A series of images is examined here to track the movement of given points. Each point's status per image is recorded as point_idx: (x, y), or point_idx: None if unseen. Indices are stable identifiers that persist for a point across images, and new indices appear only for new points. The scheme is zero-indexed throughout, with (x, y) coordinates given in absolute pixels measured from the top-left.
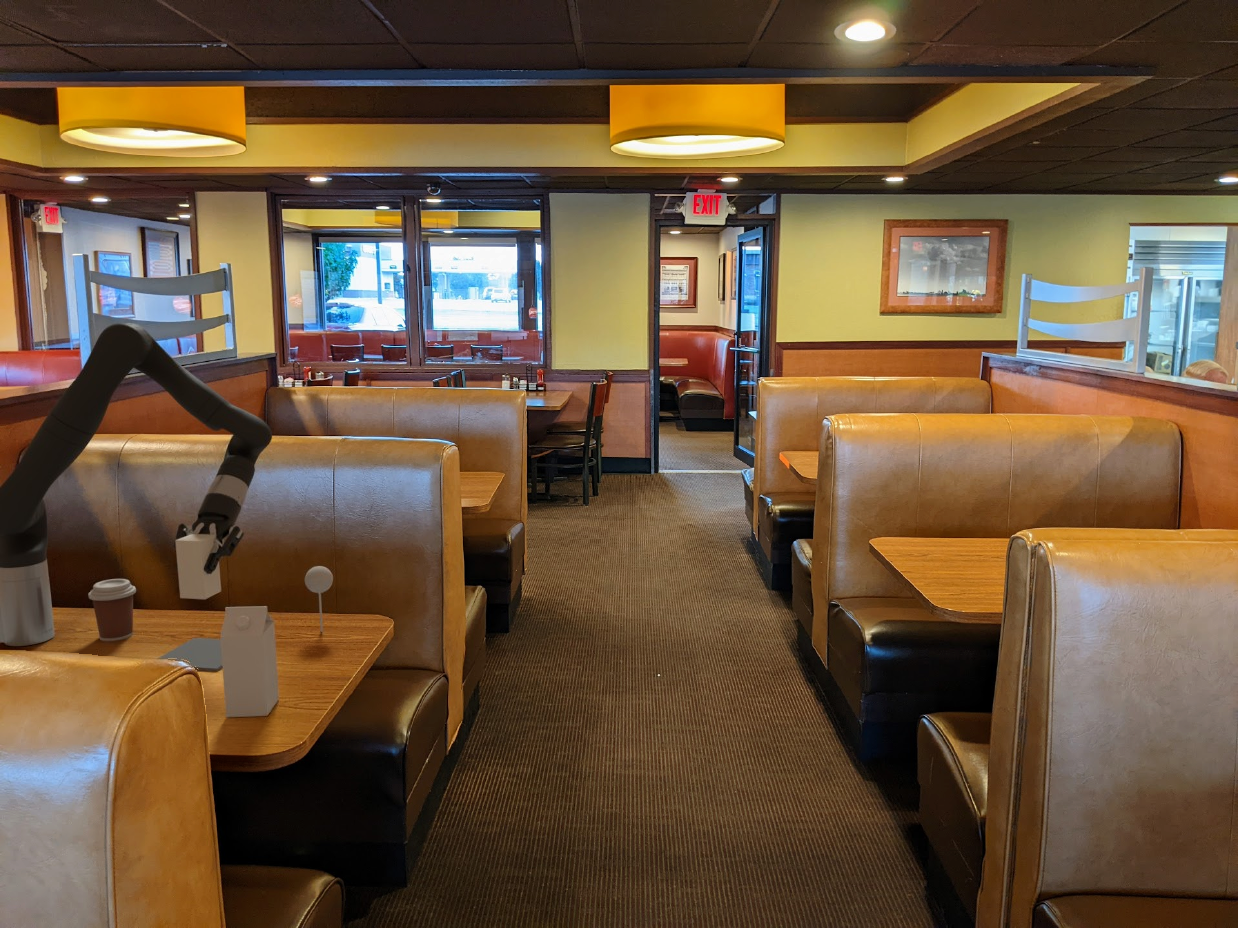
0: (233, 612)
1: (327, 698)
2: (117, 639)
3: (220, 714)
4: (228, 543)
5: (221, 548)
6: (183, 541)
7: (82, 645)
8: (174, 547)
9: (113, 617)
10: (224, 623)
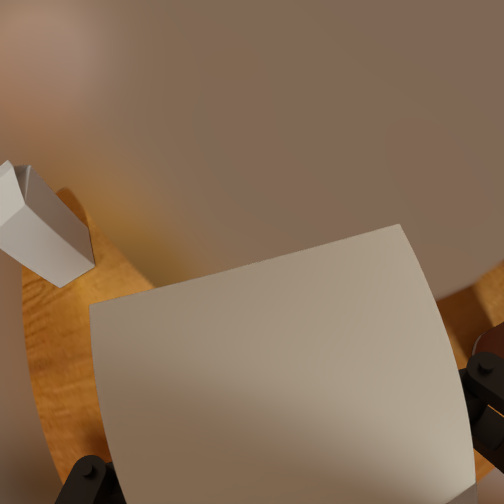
0: (4, 171)
1: (26, 311)
2: (474, 346)
3: (98, 232)
4: (63, 498)
5: (102, 470)
6: (302, 252)
7: (487, 303)
8: (482, 354)
9: (498, 333)
10: (20, 166)
